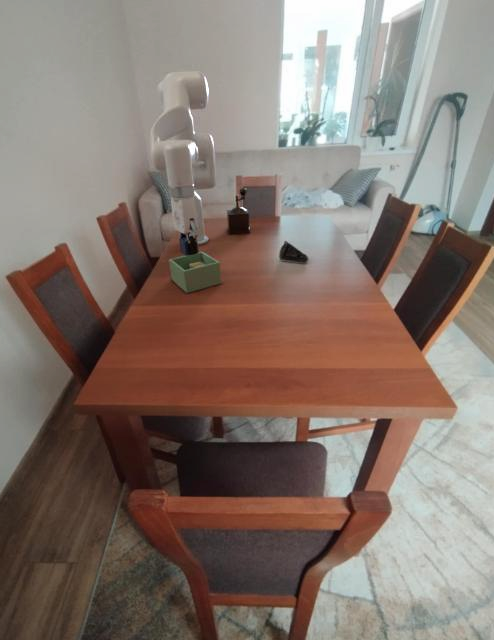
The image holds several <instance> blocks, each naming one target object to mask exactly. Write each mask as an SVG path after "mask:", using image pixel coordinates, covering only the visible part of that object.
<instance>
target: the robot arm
mask: <svg viewBox="0 0 494 640" xmlns="http://www.w3.org/2000/svg"><path fill="white" fill-rule="evenodd" d="M157 94H158V97H159V100H160V102H161V105H162V107H163V108H162V109H163V112H162V113H161V114H160V115H159V117H157V119H156V120H155V122H154V123H153V125H152V127H151V130H150V134H149V138H150V139H149V143H150V144H149V145H150V146H149V148H150V149H149V150H150V159H151V163H152V165H153V166H154V168H155V169H156V170H158V171H166V176H167V182H168V183H167V184H168V190H169V197H170V199H171V200H170V201H171V215H172V225H173V228H174V230H175V231H177V232H178V237H179V238H183V237H187V241H188V243H187V250H188V255H194V254H197V244H196V242H197V243H198V246H200V245H205V244H207V243H208V242H209V237H208V236H207V235H206V233H205V223H204V222H205V220H204V212H203V211H204V210H203V209H204V208H203V202H202V198H201V197H200V195H199V194H198V193H197V192H196V191H197V190H210V189H214V187H216V184H217V169H216V152H215V144H214V139H213V137H212V135H211V133H209V132H204V131H203V132H195V129H194V128H195V127H194V119H193V116H192V114H191V110H204V109H206V108H207V106H208V103H209V85H208V80H207V78H206V76H205V74H204V73H203V72H202V71H200V70H199V71H198V70H188V71H187V70H186V71H172V72H170V73H168V74H166V75H165V77H164V78H163V79H162V81H160V82H159V83H158V85H157ZM171 138H172V140H169V139H171ZM198 162H201V163H198ZM202 162H203V163H202ZM189 236H190V237H189ZM196 239H197V240H196Z"/></svg>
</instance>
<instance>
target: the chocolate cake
mask: <svg viewBox="0 0 494 640" xmlns="http://www.w3.org/2000/svg"><path fill="white" fill-rule="evenodd" d="M278 258H279V261H280V262H286V263H294V264H301V265H304V264H307V263H308V261H309V257H308V255H307V254H305V253H303V252H302V251H301V250H300V249H299V248H297V247H295V245H293V244H291V243H290V242H289V241H288V240H287V241H286V240H284V242H283V245H282V246H281V247H280V250H279V254H278Z"/></svg>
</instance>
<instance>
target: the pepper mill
mask: <svg viewBox="0 0 494 640" xmlns="http://www.w3.org/2000/svg"><path fill="white" fill-rule="evenodd" d="M238 192H239V194H240V198H239V195H235V202H236V203H235V204H236V205H235V207H233V208H231V209H227V210H226V220H227V232H228V235H230V236H231V235H233V236H234V235H246V234H247V235H248V234H250V230H251V228H250V214H249V210H248V209H247V208H245V206H244V205H243V207H242V206H239V202H240V201H242V200H243V201H244V200H245V199H247V197H246V195H247V194H248V190H247V188H243V187H242V188H239V191H238Z"/></svg>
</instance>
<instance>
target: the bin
mask: <svg viewBox="0 0 494 640" xmlns="http://www.w3.org/2000/svg"><path fill="white" fill-rule="evenodd" d="M198 252H199V253H197V254H194V255H188V256H186V255H181V256H177V257H174V258H170V259H168V263H169V270H170V275H171V280H172V281H173V283H175V284H176V285H177V286H178V287H179V288H180V289H182V291H184V292H185V293H186V294H188V293H192V292H196V291H200V290H203V289H207V288H209V287H210V288H211V287H213V286H216V285H221V284H222V277H221V276H222V275H221V262H220V261H218V260H217V259H215V258H214V257H212V256H210V255H209V254H207V253H206V252H204V251H198ZM200 261H201V262H202V263H203V264H205V265H204V266H200V267H196V268H192V269H190V267H189V264H191V263H196V262H200Z"/></svg>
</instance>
